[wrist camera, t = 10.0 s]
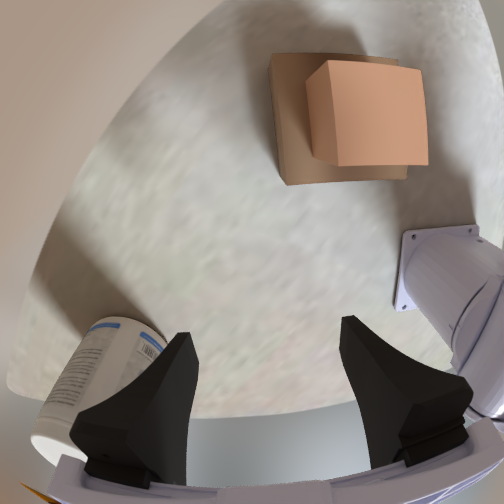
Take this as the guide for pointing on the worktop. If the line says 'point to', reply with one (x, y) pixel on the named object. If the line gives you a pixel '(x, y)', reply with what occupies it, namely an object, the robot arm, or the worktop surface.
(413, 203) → the worktop surface
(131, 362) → the supplement tub
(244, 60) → the worktop surface
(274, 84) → the walnut block
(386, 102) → the orange-tan cube
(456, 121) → the worktop surface
